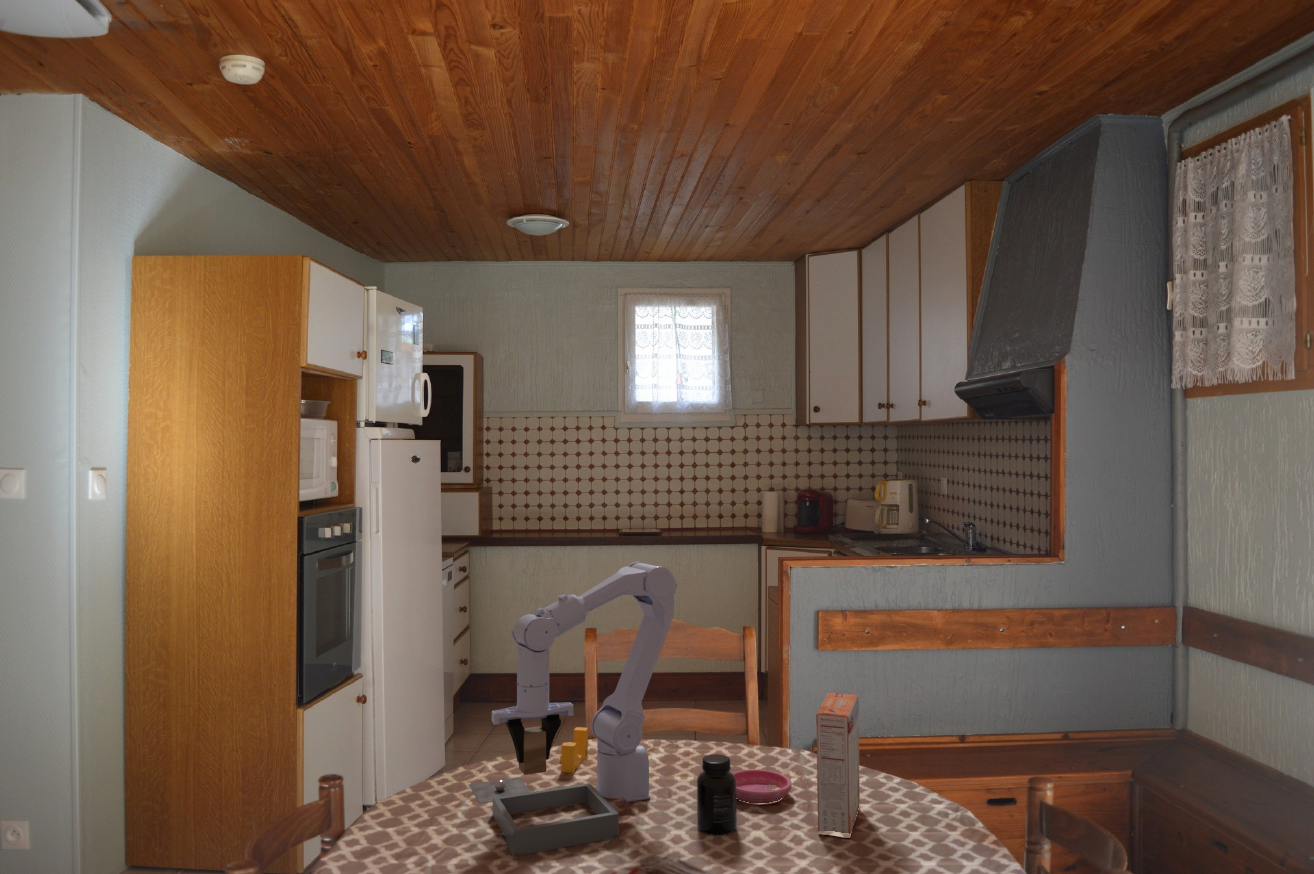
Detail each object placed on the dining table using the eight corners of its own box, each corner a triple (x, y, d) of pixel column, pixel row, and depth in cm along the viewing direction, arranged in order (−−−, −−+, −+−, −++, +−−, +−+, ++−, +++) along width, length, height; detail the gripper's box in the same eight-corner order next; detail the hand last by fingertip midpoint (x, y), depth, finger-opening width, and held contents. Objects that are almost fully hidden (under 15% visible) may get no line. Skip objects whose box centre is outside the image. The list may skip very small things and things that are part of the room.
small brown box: (546, 772, 157) (546, 732, 158) (524, 775, 156) (524, 734, 156) (540, 765, 161) (539, 726, 162) (518, 767, 160) (518, 728, 160)
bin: (589, 804, 163) (589, 783, 163) (618, 837, 149) (618, 813, 149) (492, 820, 156) (492, 797, 156) (513, 856, 142) (513, 831, 142)
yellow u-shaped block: (567, 757, 189) (568, 726, 189) (587, 758, 188) (587, 727, 188) (552, 777, 177) (553, 744, 177) (573, 778, 176) (574, 746, 177)
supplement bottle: (740, 823, 155) (740, 754, 155) (731, 839, 149) (731, 767, 149) (703, 817, 157) (703, 749, 158) (691, 833, 151) (692, 762, 151)
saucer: (728, 782, 175) (728, 766, 175) (791, 786, 173) (791, 770, 173) (722, 807, 163) (722, 789, 163) (791, 811, 161) (791, 794, 161)
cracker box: (827, 804, 163) (827, 690, 164) (860, 809, 161) (860, 694, 162) (814, 835, 150) (814, 711, 151) (850, 840, 148) (850, 715, 149)
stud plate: (519, 782, 174) (519, 767, 174) (533, 800, 165) (533, 785, 165) (468, 789, 170) (468, 774, 170) (479, 808, 161) (479, 793, 161)
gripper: (565, 674, 165) (565, 747, 165) (488, 681, 159) (487, 757, 159) (577, 683, 159) (576, 759, 158) (496, 691, 153) (496, 770, 153)
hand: (532, 759), depth 158 cm, fingers closed on small brown box, 4 cm apart
